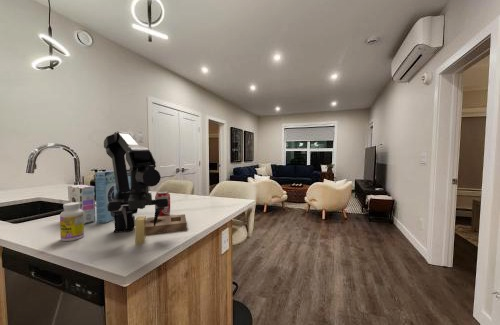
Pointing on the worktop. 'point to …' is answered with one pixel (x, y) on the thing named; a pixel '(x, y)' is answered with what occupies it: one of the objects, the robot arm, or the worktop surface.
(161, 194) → the soda can
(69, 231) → the supplement bottle
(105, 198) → the light blue cardboard box
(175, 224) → the bit block
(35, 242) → the worktop surface
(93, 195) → the candy box
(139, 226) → the pale yellow block
